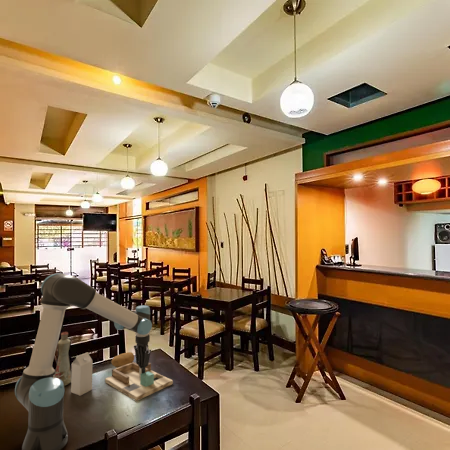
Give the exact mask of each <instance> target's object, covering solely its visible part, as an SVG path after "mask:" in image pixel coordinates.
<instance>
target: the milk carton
mask: <svg viewBox="0 0 450 450" xmlns="http://www.w3.org/2000/svg"><path fill="white" fill-rule="evenodd" d="M75 357H76V358H75V359H74V360H73V362H71V383H70V386H71V387H70V388H71V389H70V392H71V393H72V394H74V395H78V396H82V395H84V394H86V393H88V392H90V391H92V390H93V359H92V357H91V356H90V354H89V352H85V353H82V354H79V355H77V356H75Z"/></svg>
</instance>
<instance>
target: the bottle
mask: <svg viewBox="0 0 450 450" xmlns="http://www.w3.org/2000/svg"><path fill="white" fill-rule="evenodd" d="M60 337H61V338H60V340H58V343H57V348H58V357H57V360H56V361H57V362H56V368H55V372H54V376H53V378H58V379H60V380H62V382H63V384H64V387H65V386H67V385H69V384H71V377H72V369H71V365H70V356H69V350H70V346H71V340H70V339H69V338H68V337H69V332H68V331H62V332H60Z"/></svg>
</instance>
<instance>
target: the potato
mask: <svg viewBox="0 0 450 450" xmlns="http://www.w3.org/2000/svg"><path fill="white" fill-rule="evenodd" d="M134 361H135V353H134V352H131V351H129V352H124V353H120V354H118V355H115V356H113V358H112V359H111V361H110V362H111V365H112V366H114V368H115V369H116V368H118V367H121V366H124V365H127V364H130V363H132V362H134Z"/></svg>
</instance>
